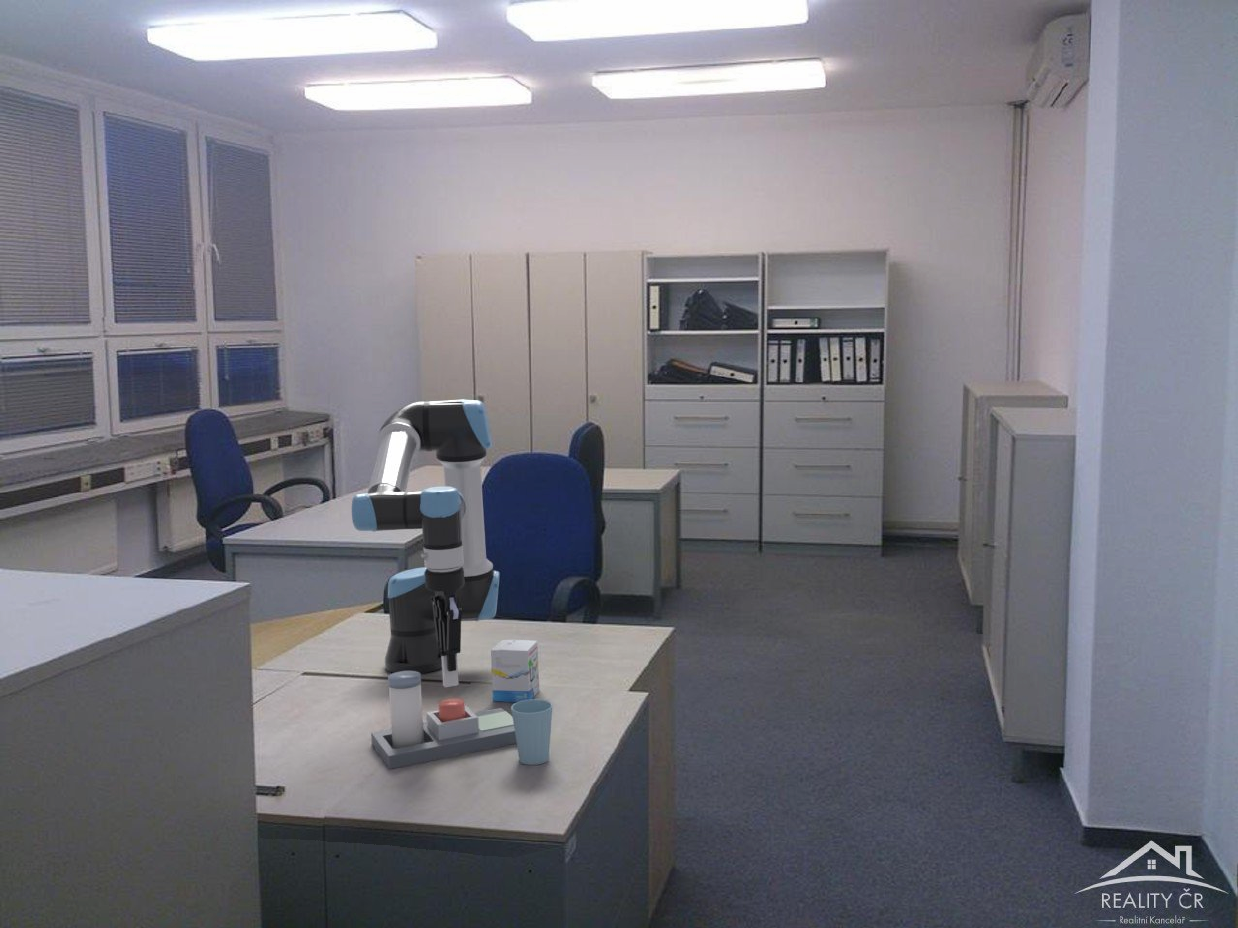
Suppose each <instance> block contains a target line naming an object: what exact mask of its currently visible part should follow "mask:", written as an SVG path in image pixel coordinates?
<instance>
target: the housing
mask: <svg viewBox="0 0 1238 928" xmlns="http://www.w3.org/2000/svg"><path fill="white" fill-rule="evenodd" d="M423 731H424V743H422V744H417V745H412V746H407V747H402V748H397V749H393V745H392V729H391V728H387V729H382V730H378V731H371V734H370V736H371V746H372V747H373V748H374V750H375V751H376V752H377V753H378V756H380V758H381V760H382V761H383V762H384V763H385V764H386V766H387V767H388V769H389V770H392V769H398V768H401V767H407V766H412V765H417V764H422V763H425V762H430V761H435V760H441V759H446V758H451V757H455V756H459V755H460V756H461V755H464V754H470V753H474V752H480V751H485V750H490V749H495V748H499V747H503V746H508V745H513V744H517V742H516V736H515V729H514V723H513V717H512V714H510V713H508V711H506V710H504V709H503V708H502V707H498V708H497V707H496V708H493V709H487V710H483V711H477V712H473V711H472V710H471V709H470V708H469V707H468V706H467V705H465V718H463V719H457V720H452V721H447V722H441V721H440V719H439V709H438V710H434V711H427V712H426V722H425V721H423Z"/></svg>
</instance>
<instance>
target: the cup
mask: <svg viewBox="0 0 1238 928" xmlns="http://www.w3.org/2000/svg"><path fill="white" fill-rule="evenodd" d="M510 710H511V716H512V717H513V723H514V729H515V736H516V742H517V743H516V746H517V753H518V758H519V759H518V760H519V762H520V763H521V764H524V765H526V766H527V765H528V766H537V765H542V764H545V763H546V762H548V761H549V759H550V747H551V732H552V731H551V730H552V716H553V703H552V702H550V701H549V700H545V699H539V698H538V699H536V698H535V699H534V698H532V699H531V700H524V701H520V702H514V703H513V704H512V705H511V707H510Z"/></svg>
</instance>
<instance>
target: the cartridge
mask: <svg viewBox="0 0 1238 928" xmlns="http://www.w3.org/2000/svg"><path fill="white" fill-rule="evenodd" d="M421 674H422V673H419V672H416V671H400V672H396V673H390V674H389V675H388V676H387V685H388V694H389V695H388V697H389V711H390V725H391V728H390V729H392V745H393V746H392V749H397V748H402V747H407V746H412V745H417V744H422V743H425V742H424V731H423V723H424V720H423V719H424V717H423V702H422V701H423V700H422V684H421V683H422V675H421Z"/></svg>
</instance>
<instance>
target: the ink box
mask: <svg viewBox="0 0 1238 928" xmlns="http://www.w3.org/2000/svg"><path fill="white" fill-rule="evenodd" d="M538 650H539V647H538V640H531V639H530V640H529V639H501V641H499V642H498V643H497V644H496V645H495V646H494V647H493V648H492V649H491V650H490V652H491V653H490V654H491V655H490V657H491V677H492V678H491V680H492V681H491V682H492V683H491V684H492V685H491V686H492V701H493V702H506V703H507V702H508V703H509V702H512V703H513V702H514V703H517V702H520V701H524V700H531V699H534V697H535V696H536V695H537V694H538V692H540V675H539V673H540V672H539V651H538Z"/></svg>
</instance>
